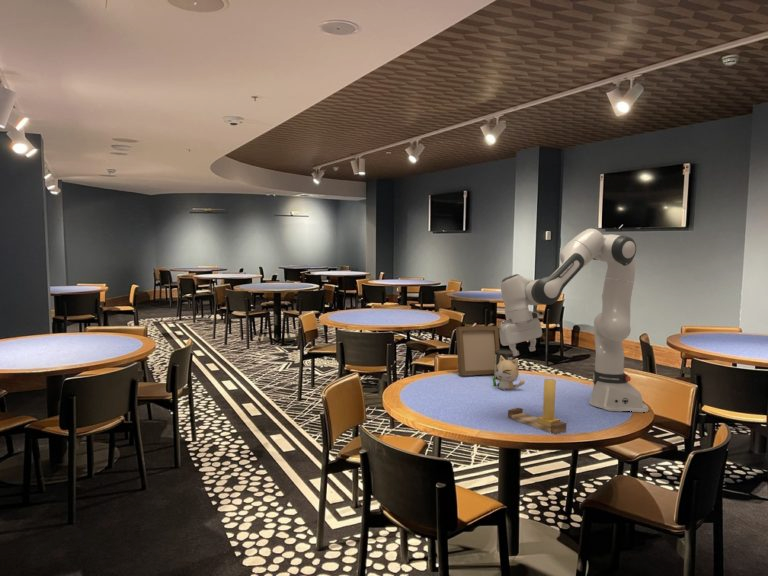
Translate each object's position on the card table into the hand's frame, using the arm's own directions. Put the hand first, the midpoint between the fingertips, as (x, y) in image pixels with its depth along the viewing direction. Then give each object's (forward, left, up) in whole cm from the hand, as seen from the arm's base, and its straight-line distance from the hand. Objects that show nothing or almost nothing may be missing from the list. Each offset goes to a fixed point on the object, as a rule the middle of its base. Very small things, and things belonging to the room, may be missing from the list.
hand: (524, 353), depth 204 cm
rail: (-5, +5, -25) cm, 26 cm away
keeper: (-10, +9, -24) cm, 27 cm away
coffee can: (+12, -62, -26) cm, 68 cm away
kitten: (+10, -44, -26) cm, 51 cm away
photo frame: (+27, -71, -26) cm, 80 cm away
